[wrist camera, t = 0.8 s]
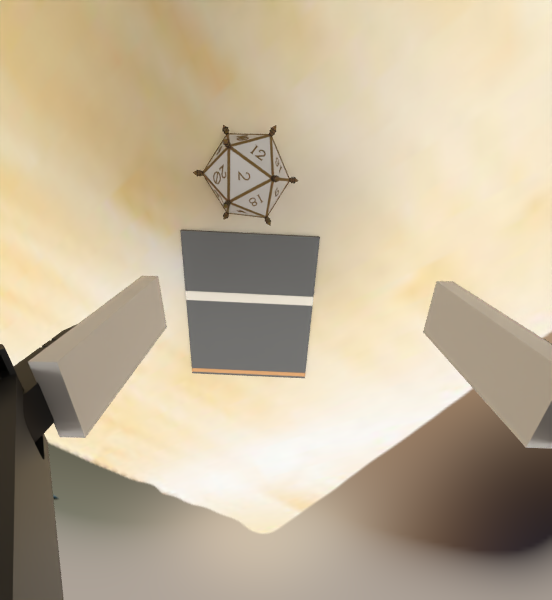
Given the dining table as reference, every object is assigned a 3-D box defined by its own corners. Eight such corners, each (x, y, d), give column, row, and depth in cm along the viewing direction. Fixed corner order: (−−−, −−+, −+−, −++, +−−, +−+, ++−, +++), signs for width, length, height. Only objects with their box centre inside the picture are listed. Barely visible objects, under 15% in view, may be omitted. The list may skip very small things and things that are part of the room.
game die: (251, 195, 35) (214, 250, 29) (212, 122, 29) (157, 174, 24) (319, 178, 30) (288, 241, 25) (287, 87, 24) (239, 143, 19)
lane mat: (181, 229, 33) (180, 230, 32) (319, 236, 33) (319, 237, 32) (193, 371, 41) (192, 373, 40) (304, 376, 41) (304, 378, 40)
